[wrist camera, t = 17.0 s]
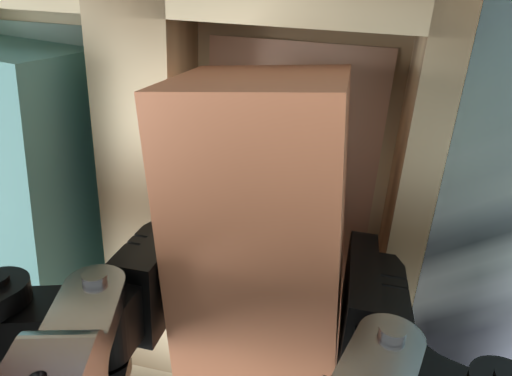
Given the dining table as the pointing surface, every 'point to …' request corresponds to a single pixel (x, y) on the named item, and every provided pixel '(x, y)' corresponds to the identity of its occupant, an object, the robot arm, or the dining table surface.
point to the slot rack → (276, 53)
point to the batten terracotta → (248, 215)
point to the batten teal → (46, 161)
